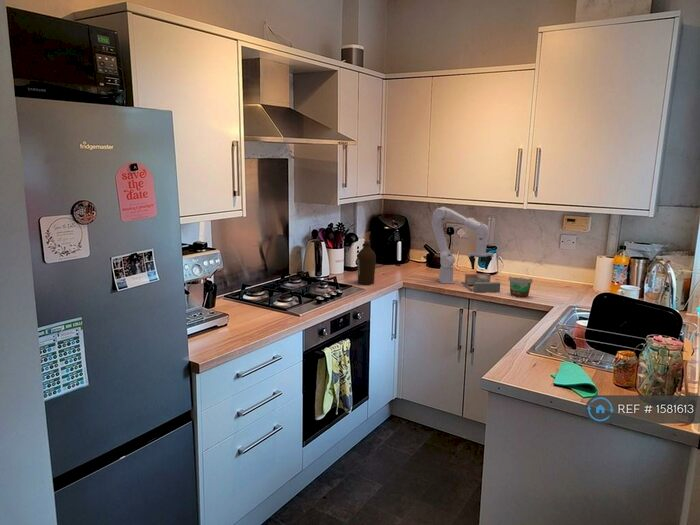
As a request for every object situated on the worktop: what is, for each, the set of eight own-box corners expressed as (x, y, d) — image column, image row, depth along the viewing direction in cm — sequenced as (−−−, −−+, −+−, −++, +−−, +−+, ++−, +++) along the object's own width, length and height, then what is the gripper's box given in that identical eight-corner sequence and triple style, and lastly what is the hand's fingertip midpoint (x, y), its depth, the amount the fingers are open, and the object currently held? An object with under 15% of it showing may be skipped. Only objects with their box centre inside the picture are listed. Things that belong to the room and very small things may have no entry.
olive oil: (375, 281, 299) (376, 239, 294) (374, 285, 289) (375, 242, 283) (357, 280, 300) (358, 238, 295) (356, 285, 289) (356, 241, 284)
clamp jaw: (464, 284, 295) (465, 273, 294) (488, 283, 297) (488, 273, 295) (466, 285, 292) (467, 275, 291) (490, 285, 293) (490, 275, 292)
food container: (505, 295, 272) (506, 277, 270) (507, 293, 278) (509, 275, 276) (529, 299, 267) (531, 280, 265) (531, 296, 272) (532, 278, 270)
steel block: (475, 287, 290) (476, 275, 288) (484, 287, 290) (485, 275, 289) (478, 289, 285) (479, 277, 283) (487, 289, 285) (488, 277, 284)
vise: (461, 283, 297) (461, 275, 296) (488, 283, 299) (489, 275, 298) (472, 292, 278) (473, 283, 277) (501, 292, 280) (502, 283, 279)
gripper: (471, 246, 283) (469, 270, 286) (496, 247, 284) (494, 270, 287) (467, 244, 290) (465, 268, 293) (491, 244, 291) (489, 268, 294)
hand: (479, 269), depth 290 cm, fingers open, 7 cm apart
